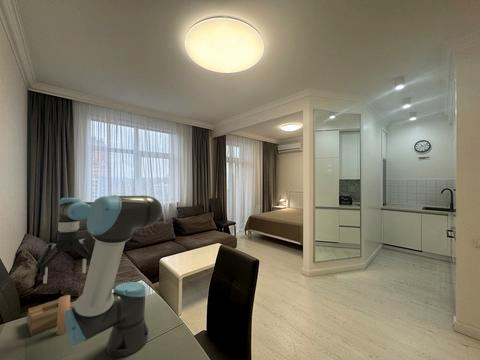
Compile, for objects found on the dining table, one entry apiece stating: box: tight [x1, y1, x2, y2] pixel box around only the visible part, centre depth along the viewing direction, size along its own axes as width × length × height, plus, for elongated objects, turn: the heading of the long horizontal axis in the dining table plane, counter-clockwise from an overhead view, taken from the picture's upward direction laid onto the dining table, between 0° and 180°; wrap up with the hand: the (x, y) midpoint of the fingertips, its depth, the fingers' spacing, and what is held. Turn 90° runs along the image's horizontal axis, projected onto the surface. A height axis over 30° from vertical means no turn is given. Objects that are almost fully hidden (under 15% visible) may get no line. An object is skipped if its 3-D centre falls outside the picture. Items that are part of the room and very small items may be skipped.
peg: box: [56, 294, 71, 336], centre depth 89 cm, size 4×4×15 cm
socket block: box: [26, 298, 74, 338], centre depth 95 cm, size 14×14×7 cm
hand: (65, 277), depth 90 cm, fingers open, 13 cm apart
